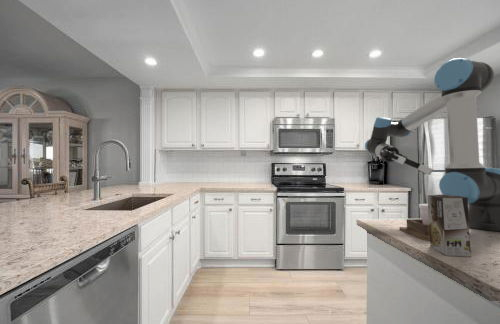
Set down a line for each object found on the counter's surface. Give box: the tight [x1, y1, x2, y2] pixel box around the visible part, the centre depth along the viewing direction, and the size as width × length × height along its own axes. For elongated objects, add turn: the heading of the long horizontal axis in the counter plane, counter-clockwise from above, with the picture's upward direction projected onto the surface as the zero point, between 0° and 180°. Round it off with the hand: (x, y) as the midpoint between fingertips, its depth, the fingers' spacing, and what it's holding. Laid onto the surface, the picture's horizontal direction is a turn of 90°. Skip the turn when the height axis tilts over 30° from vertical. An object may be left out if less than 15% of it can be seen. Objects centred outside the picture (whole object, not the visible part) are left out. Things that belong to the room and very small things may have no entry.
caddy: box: [399, 218, 430, 242], centre depth 92 cm, size 14×16×4 cm
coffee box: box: [426, 194, 472, 257], centre depth 74 cm, size 9×6×16 cm
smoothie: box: [418, 192, 431, 225], centre depth 93 cm, size 6×6×14 cm
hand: (417, 166), depth 104 cm, fingers open, 13 cm apart
